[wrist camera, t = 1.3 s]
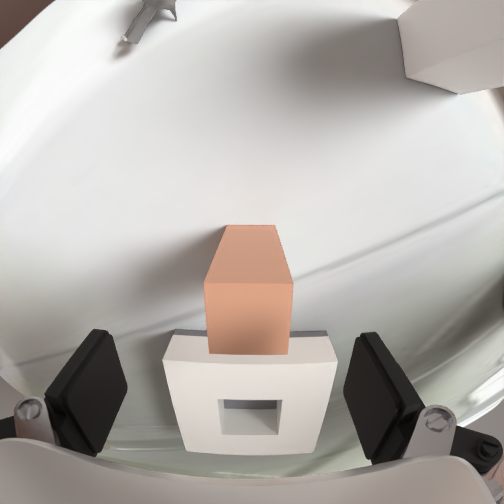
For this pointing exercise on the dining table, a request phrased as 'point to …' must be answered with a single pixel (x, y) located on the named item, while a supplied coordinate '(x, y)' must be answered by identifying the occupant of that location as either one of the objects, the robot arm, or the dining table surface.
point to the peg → (248, 293)
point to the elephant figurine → (147, 18)
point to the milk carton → (454, 43)
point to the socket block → (250, 395)
